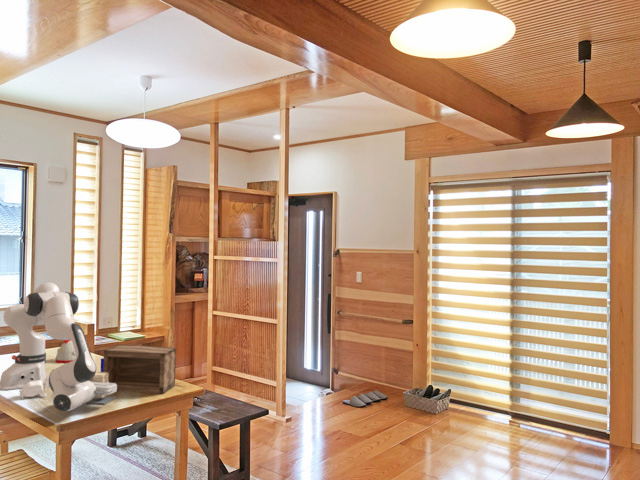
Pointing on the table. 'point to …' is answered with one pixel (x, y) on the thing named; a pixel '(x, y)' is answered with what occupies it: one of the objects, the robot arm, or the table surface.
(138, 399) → the table surface
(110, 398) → the slate mat
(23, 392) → the white animal figurine
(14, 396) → the table surface
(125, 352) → the brown wooden box
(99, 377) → the beech block
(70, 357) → the kitchen timer
